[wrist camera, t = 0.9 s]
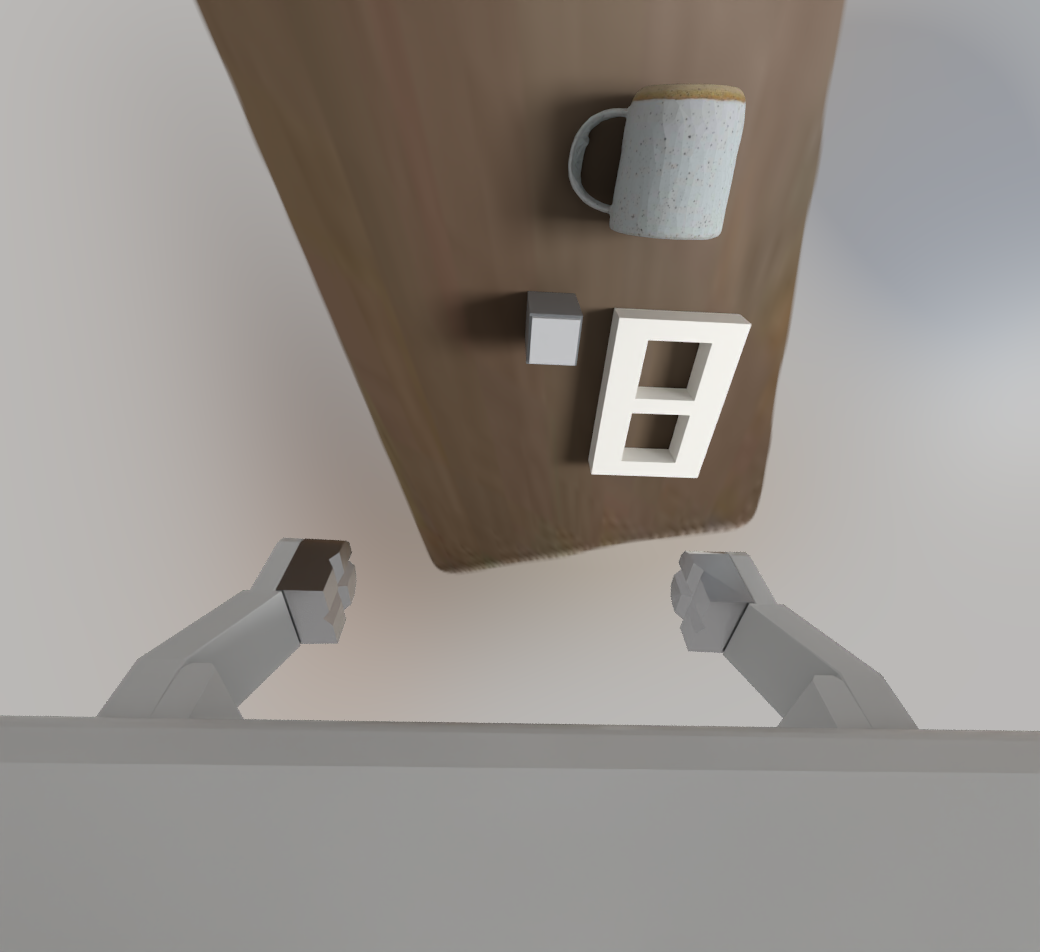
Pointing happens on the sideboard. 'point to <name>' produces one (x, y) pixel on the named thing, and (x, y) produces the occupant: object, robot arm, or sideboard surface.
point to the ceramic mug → (670, 160)
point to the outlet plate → (664, 390)
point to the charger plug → (552, 328)
